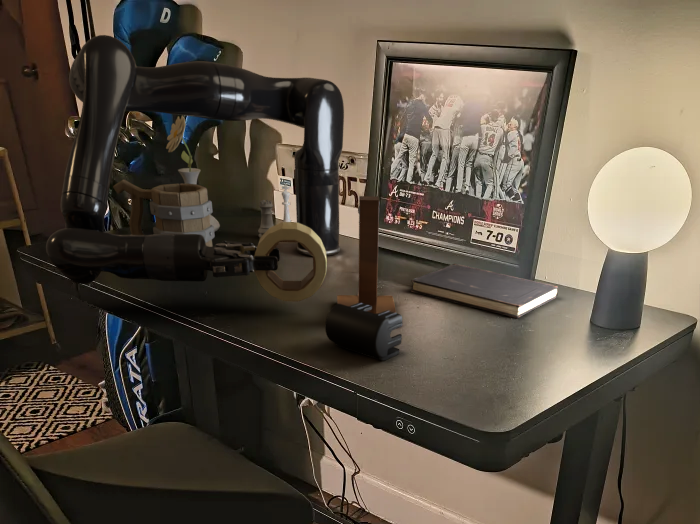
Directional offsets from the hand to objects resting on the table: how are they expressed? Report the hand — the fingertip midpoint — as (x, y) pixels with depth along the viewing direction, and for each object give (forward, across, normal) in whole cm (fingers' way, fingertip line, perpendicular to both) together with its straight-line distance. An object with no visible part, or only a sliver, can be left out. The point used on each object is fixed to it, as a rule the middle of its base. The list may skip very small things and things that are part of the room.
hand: (278, 258), depth 126 cm
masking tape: (+2, 0, +6) cm, 7 cm away
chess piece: (-2, +63, +10) cm, 64 cm away
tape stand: (+15, -1, +9) cm, 18 cm away
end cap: (+14, -19, +9) cm, 25 cm away
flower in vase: (-23, +55, +10) cm, 60 cm away
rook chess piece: (-6, +53, +10) cm, 54 cm away
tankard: (-25, +34, +9) cm, 43 cm away
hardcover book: (+38, +11, +9) cm, 41 cm away
